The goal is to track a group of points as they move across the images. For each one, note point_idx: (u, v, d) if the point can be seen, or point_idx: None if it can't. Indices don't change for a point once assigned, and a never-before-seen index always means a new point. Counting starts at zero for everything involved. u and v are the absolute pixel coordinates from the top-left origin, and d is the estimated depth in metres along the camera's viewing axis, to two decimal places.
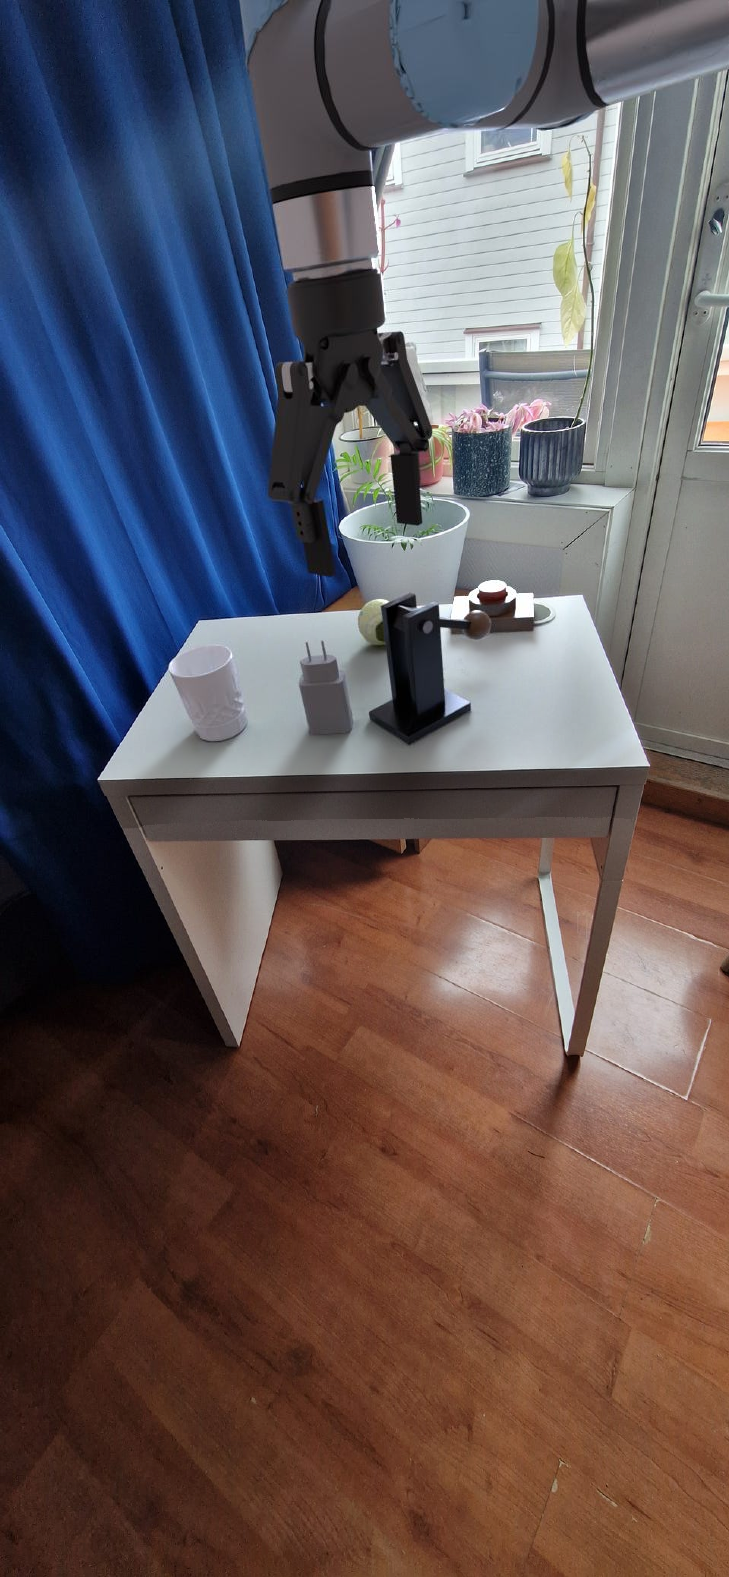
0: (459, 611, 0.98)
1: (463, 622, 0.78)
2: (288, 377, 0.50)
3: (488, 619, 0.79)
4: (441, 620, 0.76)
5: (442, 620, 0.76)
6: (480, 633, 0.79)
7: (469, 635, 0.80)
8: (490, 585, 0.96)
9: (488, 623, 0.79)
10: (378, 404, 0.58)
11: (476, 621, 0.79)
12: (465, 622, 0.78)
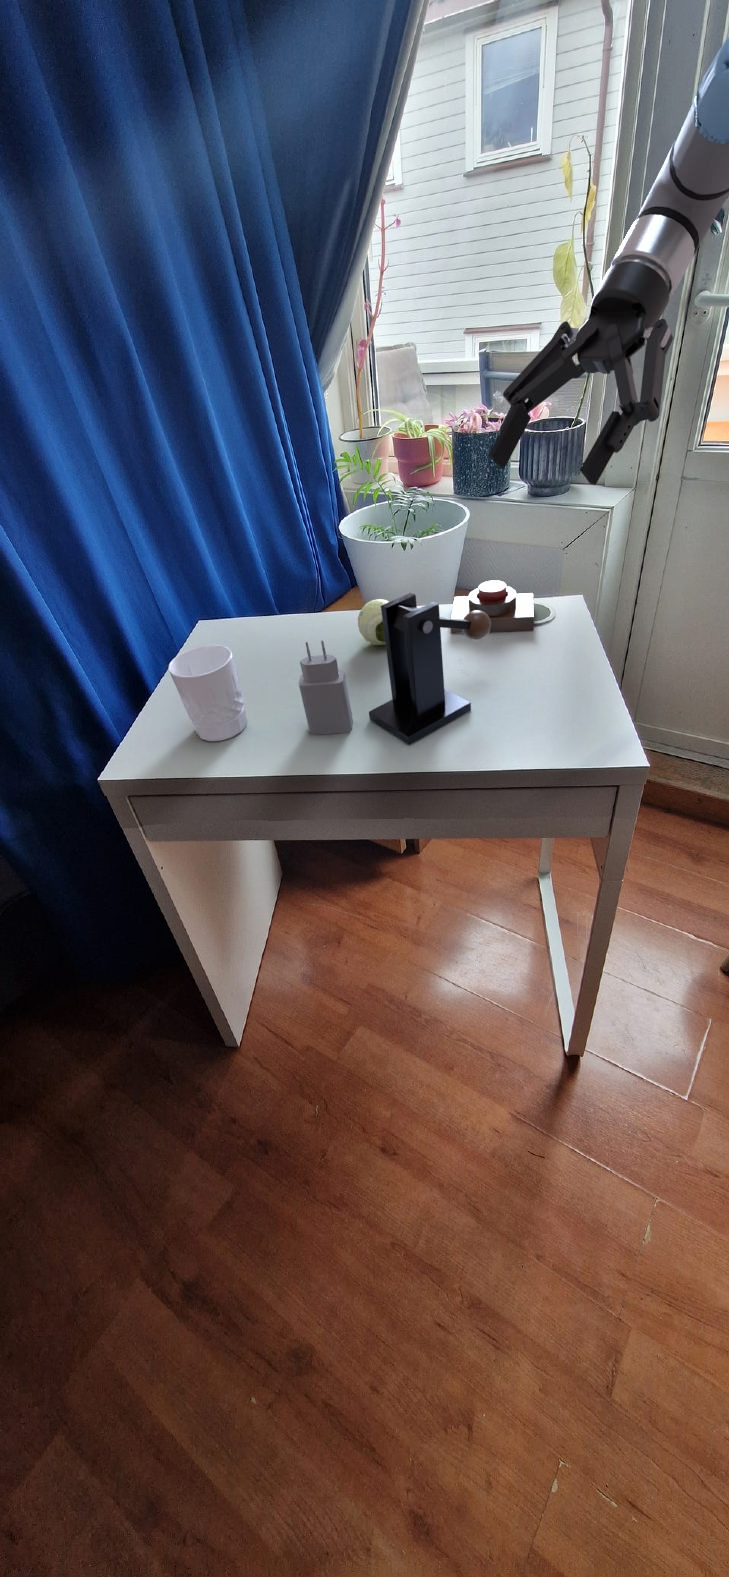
0: (459, 611, 0.98)
1: (463, 622, 0.78)
2: None
3: (488, 619, 0.79)
4: (441, 620, 0.76)
5: (442, 620, 0.76)
6: (480, 633, 0.79)
7: (469, 635, 0.80)
8: (490, 585, 0.96)
9: (488, 623, 0.79)
10: None
11: (476, 621, 0.79)
12: (465, 622, 0.78)
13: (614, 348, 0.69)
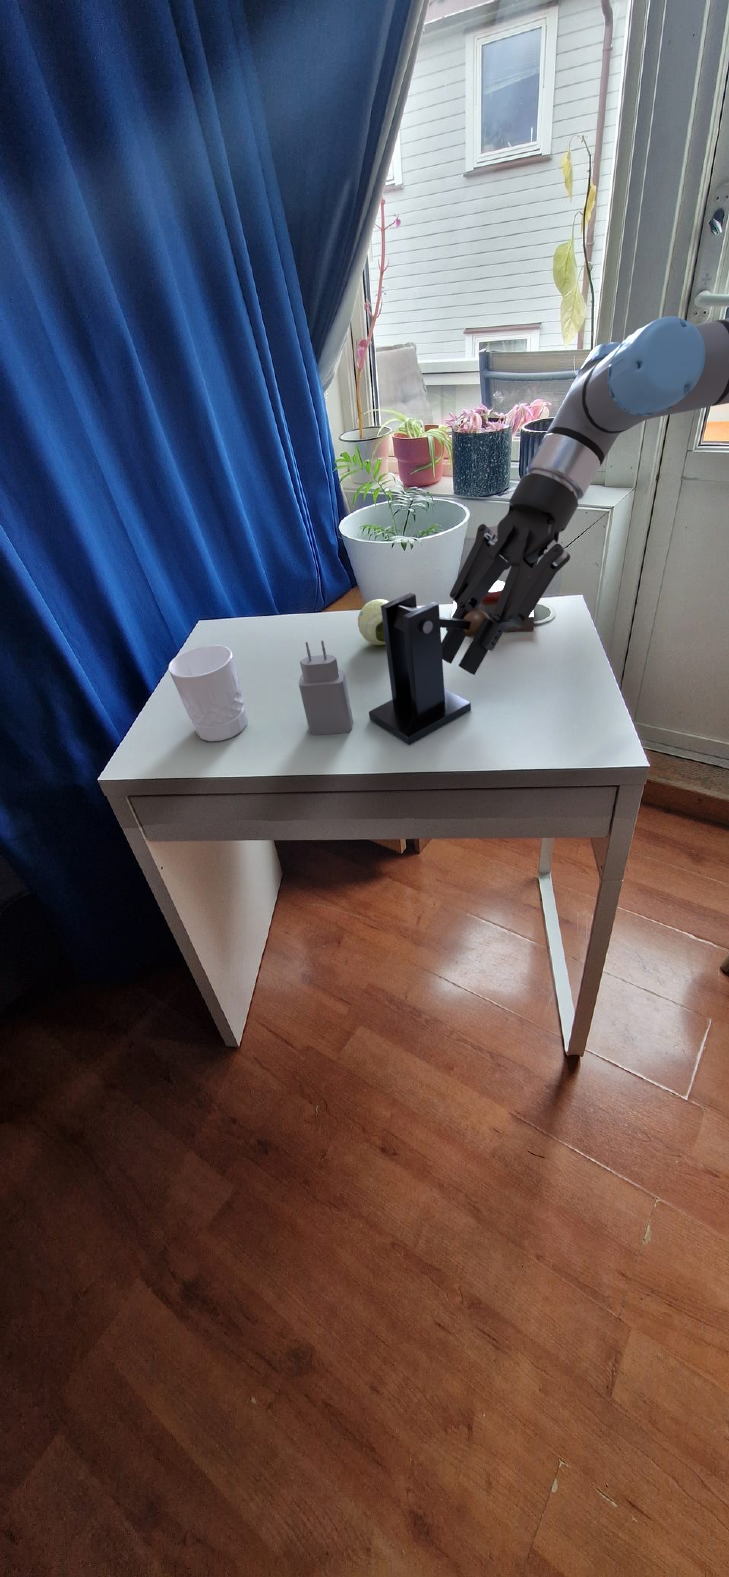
0: None
1: (463, 622, 0.78)
2: None
3: None
4: (441, 620, 0.76)
5: (442, 620, 0.76)
6: None
7: (469, 635, 0.80)
8: None
9: None
10: None
11: (476, 621, 0.79)
12: (465, 622, 0.78)
13: (517, 552, 0.77)
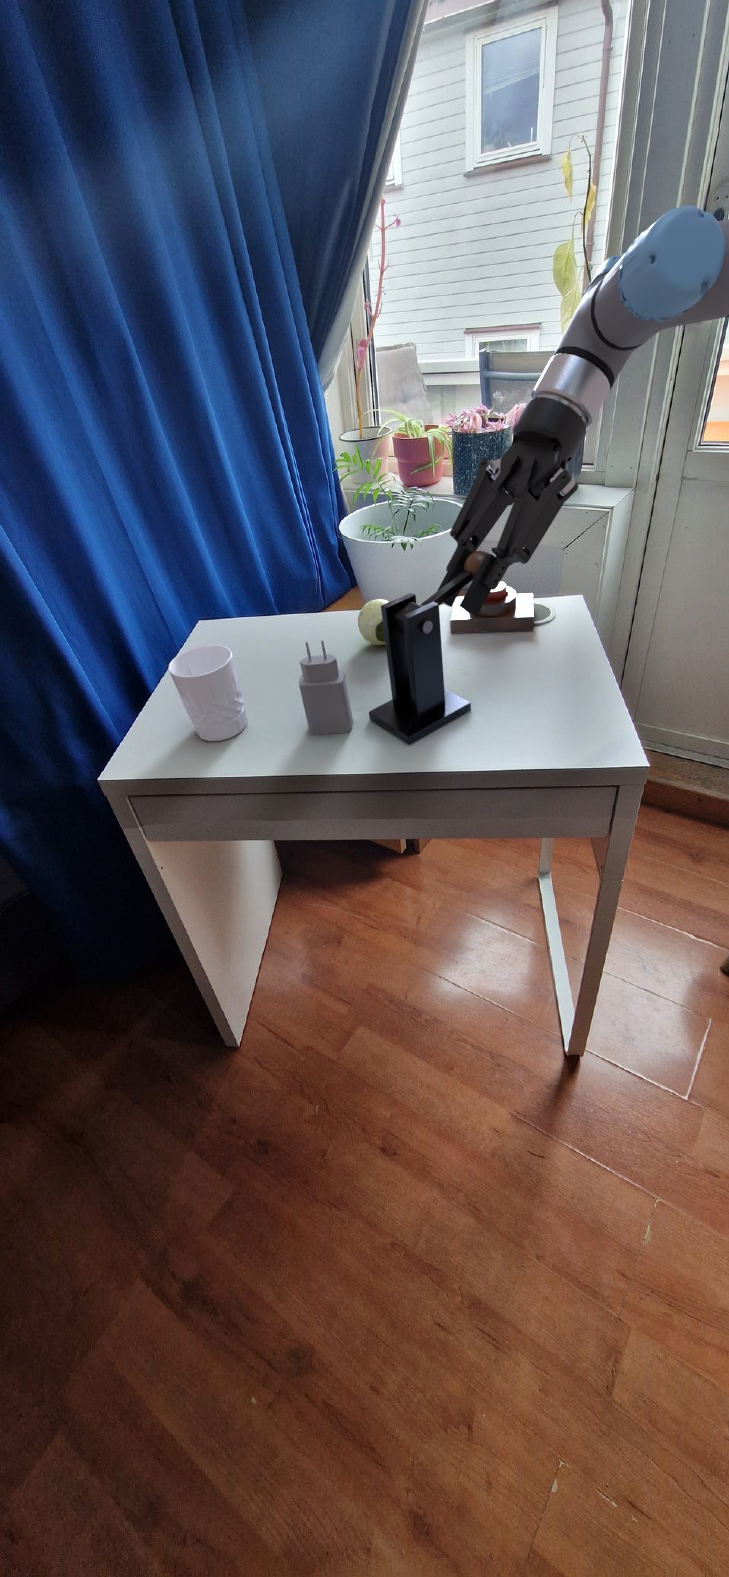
0: (459, 611, 0.98)
1: (463, 579, 0.75)
2: None
3: None
4: (440, 597, 0.74)
5: (441, 596, 0.74)
6: None
7: None
8: None
9: None
10: None
11: (476, 570, 0.75)
12: (465, 577, 0.75)
13: (522, 483, 0.72)
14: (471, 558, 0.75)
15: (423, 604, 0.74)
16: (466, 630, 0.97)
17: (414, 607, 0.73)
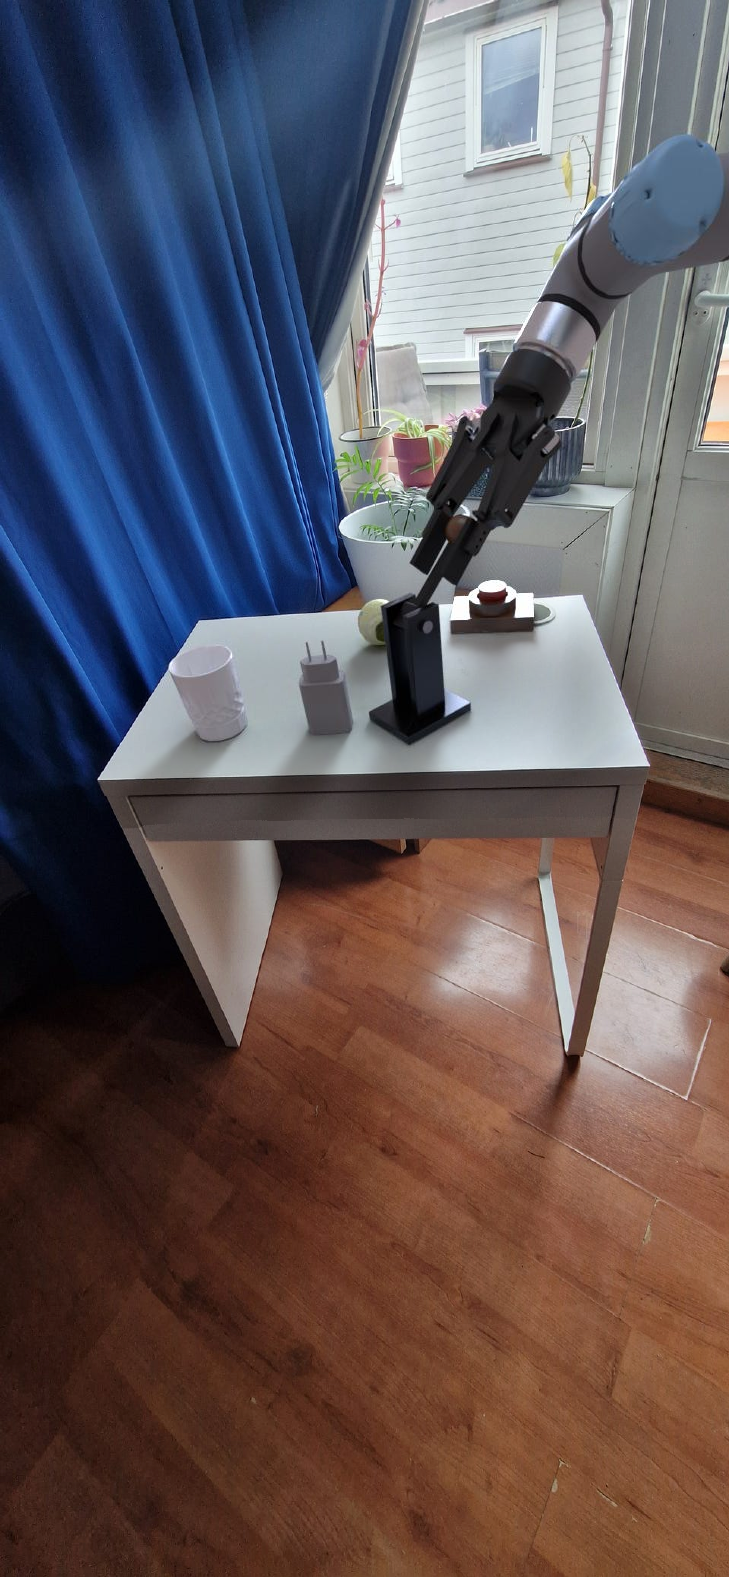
0: (459, 611, 0.98)
1: None
2: None
3: None
4: (431, 585, 0.72)
5: (432, 584, 0.72)
6: None
7: None
8: (490, 585, 0.96)
9: None
10: None
11: None
12: None
13: (502, 441, 0.68)
14: (449, 529, 0.71)
15: (417, 599, 0.73)
16: (466, 630, 0.97)
17: (409, 609, 0.73)
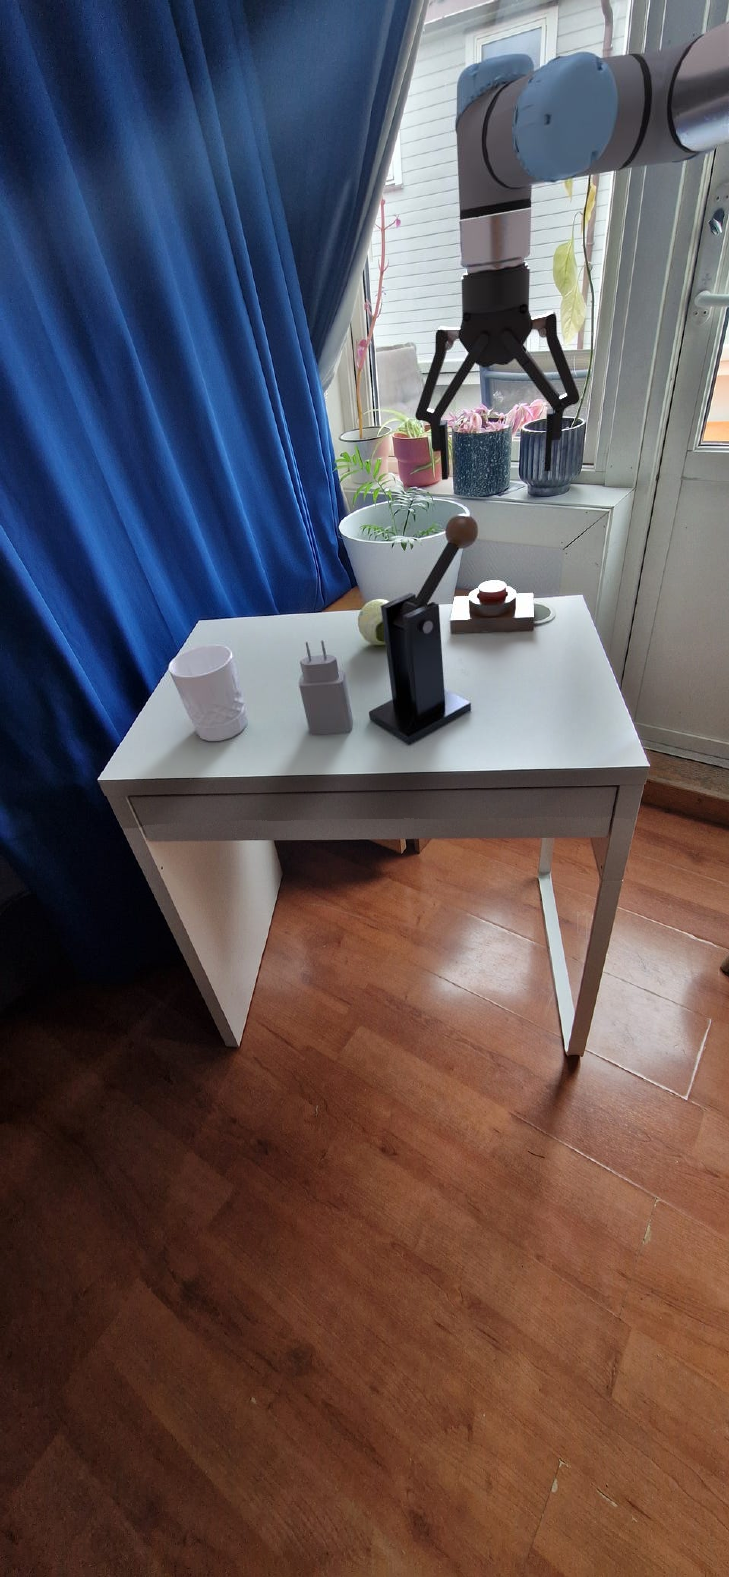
0: (459, 611, 0.98)
1: (449, 555, 0.72)
2: None
3: (466, 525, 0.70)
4: (431, 585, 0.72)
5: (432, 584, 0.72)
6: (470, 542, 0.72)
7: None
8: (490, 585, 0.96)
9: (469, 529, 0.71)
10: None
11: (458, 540, 0.71)
12: (450, 552, 0.72)
13: (518, 354, 0.76)
14: (449, 529, 0.71)
15: (417, 599, 0.73)
16: (466, 630, 0.97)
17: (409, 609, 0.73)
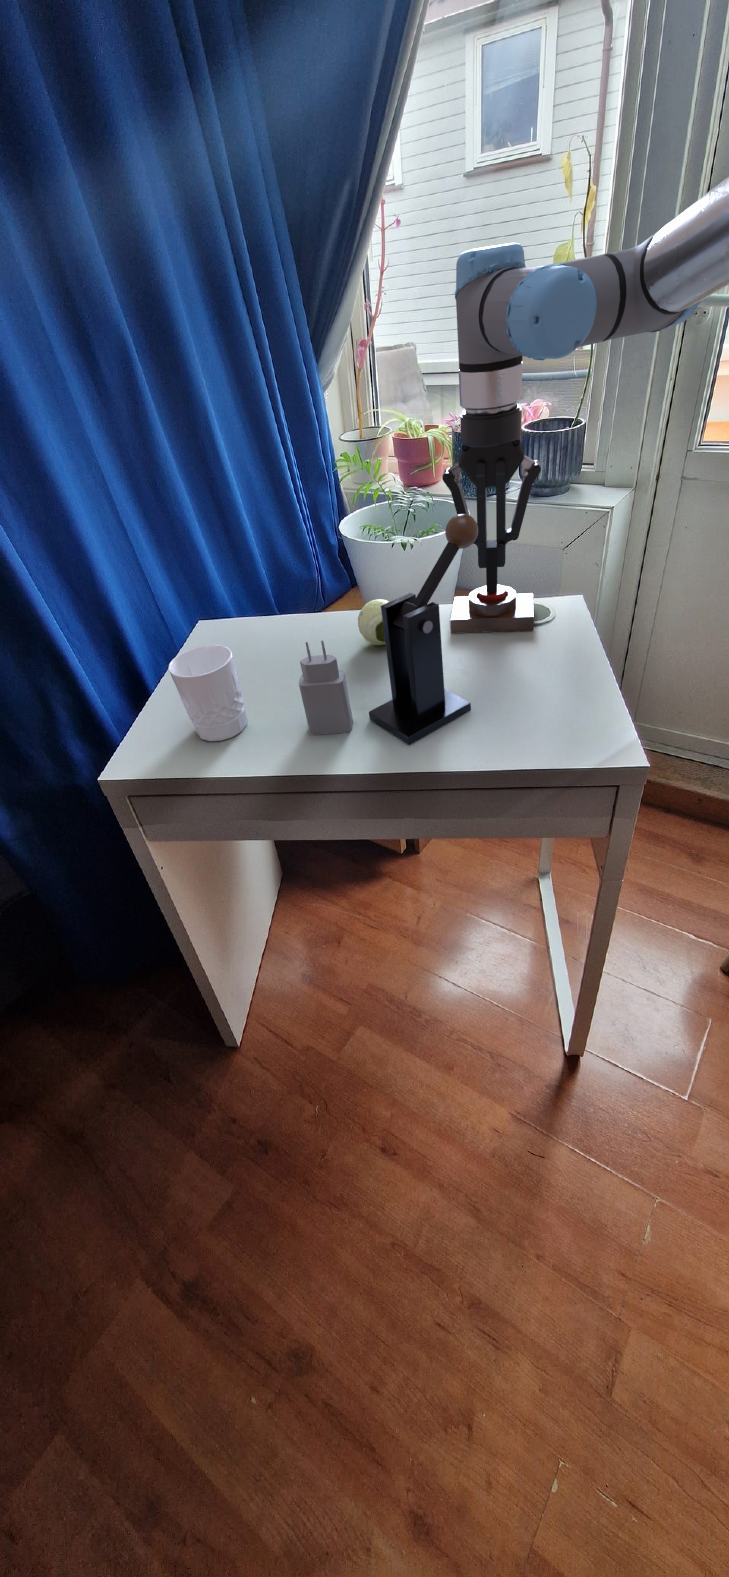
0: (459, 611, 0.98)
1: (449, 555, 0.72)
2: None
3: (466, 525, 0.70)
4: (431, 585, 0.72)
5: (432, 584, 0.72)
6: (470, 542, 0.72)
7: None
8: None
9: (469, 529, 0.71)
10: None
11: (458, 540, 0.71)
12: (450, 552, 0.72)
13: (500, 485, 0.85)
14: (449, 529, 0.71)
15: (417, 599, 0.73)
16: (466, 630, 0.97)
17: (409, 609, 0.73)
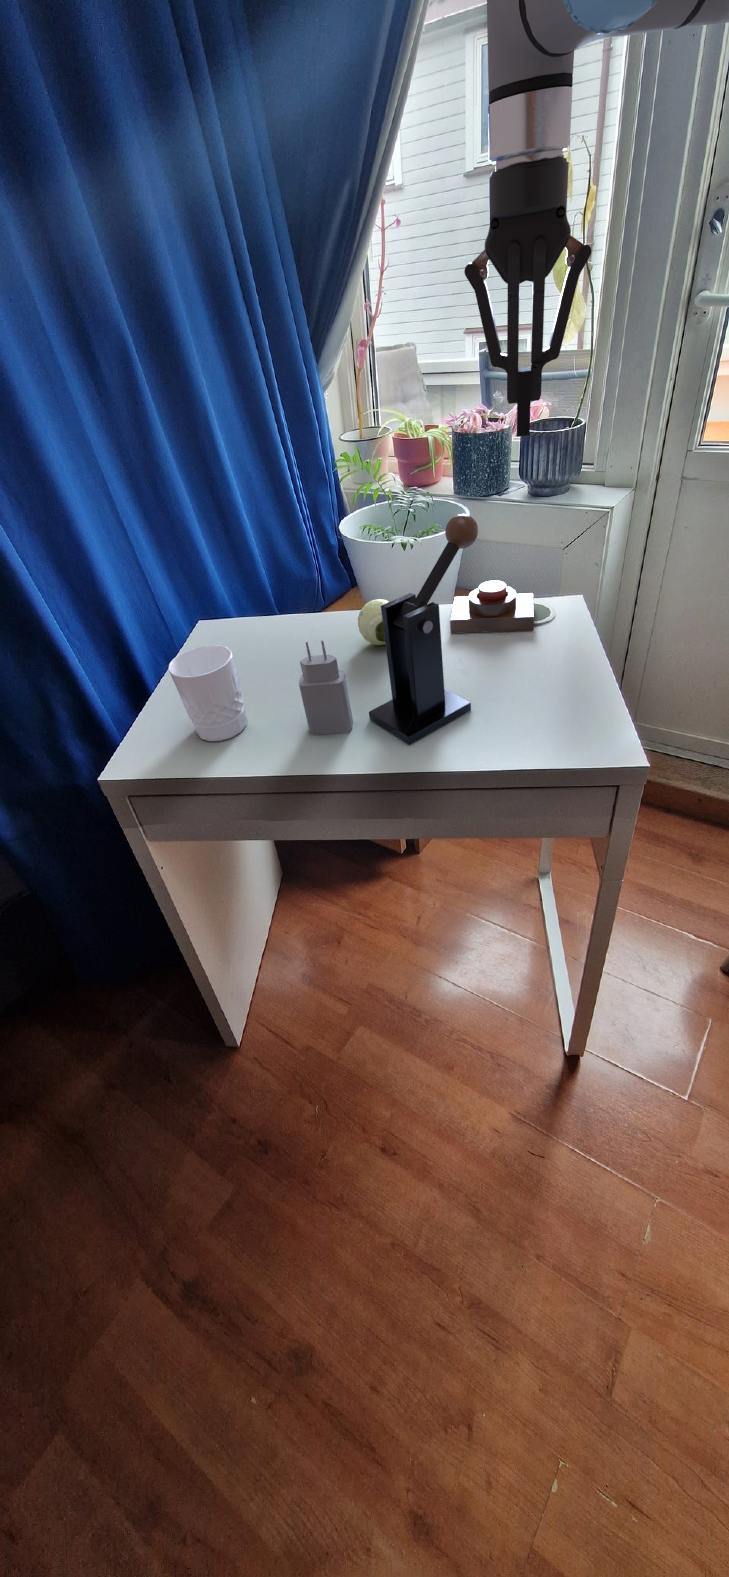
0: (459, 611, 0.98)
1: (449, 555, 0.72)
2: None
3: (466, 525, 0.70)
4: (431, 585, 0.72)
5: (432, 584, 0.72)
6: (470, 542, 0.72)
7: None
8: (490, 585, 0.96)
9: (469, 529, 0.71)
10: (532, 293, 0.69)
11: (458, 540, 0.71)
12: (450, 552, 0.72)
13: (538, 276, 0.67)
14: (449, 529, 0.71)
15: (417, 599, 0.73)
16: (466, 630, 0.97)
17: (409, 609, 0.73)
